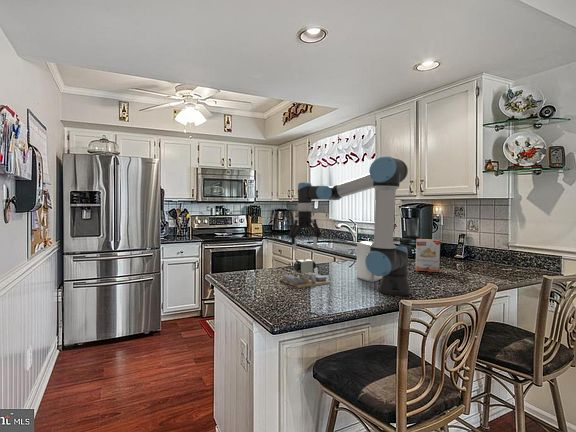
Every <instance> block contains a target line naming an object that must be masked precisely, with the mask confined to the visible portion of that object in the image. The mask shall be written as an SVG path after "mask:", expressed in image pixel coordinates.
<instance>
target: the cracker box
mask: <svg viewBox="0 0 576 432" xmlns="http://www.w3.org/2000/svg"><path fill="white" fill-rule="evenodd" d="M415 241H416V246H415V271H416V272H418V271H428V272H427V273H432V272H439V273H440V257H441V254H440V253H441V240H440V239H429V238H428V239H427V238H424V239H423V238H416V239H415Z"/></svg>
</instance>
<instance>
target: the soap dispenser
mask: <svg viewBox="0 0 576 432" xmlns="http://www.w3.org/2000/svg"><path fill="white" fill-rule="evenodd" d="M373 242H374V240H373V241H371V240H364V241H358V242H357V243H356V277H357V279H359V280H363V281H365V282H369V283H370V282H372V283H374V282H378V281H381V279H382V276H375V275H373V274H372V273H370V271H369V270H368V269H367V267H366V264H365V259H366V256H367V255H368V254H369V253H370V245H371V244H372V243H373Z"/></svg>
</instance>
